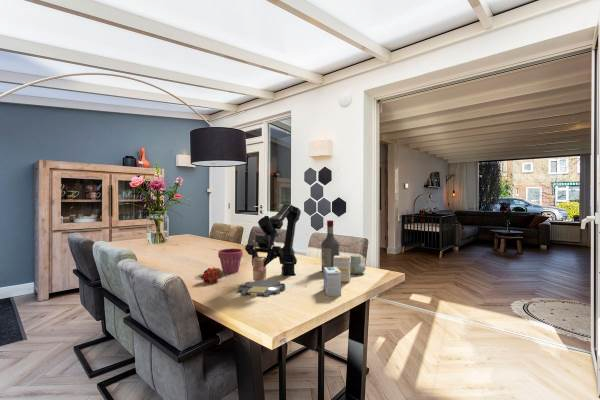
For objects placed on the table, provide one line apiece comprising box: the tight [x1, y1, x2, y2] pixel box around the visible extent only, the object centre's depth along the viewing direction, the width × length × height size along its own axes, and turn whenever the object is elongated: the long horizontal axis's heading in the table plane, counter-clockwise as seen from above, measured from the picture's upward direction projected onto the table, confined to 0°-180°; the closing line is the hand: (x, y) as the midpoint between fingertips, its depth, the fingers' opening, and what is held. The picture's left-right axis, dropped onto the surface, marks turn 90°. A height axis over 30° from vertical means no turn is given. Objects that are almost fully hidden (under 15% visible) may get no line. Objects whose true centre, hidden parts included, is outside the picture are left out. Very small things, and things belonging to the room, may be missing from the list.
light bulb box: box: [323, 267, 342, 297], centre depth 145 cm, size 11×7×11 cm, turn 5°
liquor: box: [321, 219, 340, 273], centre depth 183 cm, size 9×9×30 cm
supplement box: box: [333, 255, 351, 283], centre depth 163 cm, size 8×5×13 cm, turn 71°
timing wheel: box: [237, 279, 286, 298], centre depth 151 cm, size 23×23×1 cm
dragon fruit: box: [199, 266, 223, 284], centre depth 164 cm, size 8×8×12 cm
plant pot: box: [217, 248, 244, 275], centre depth 185 cm, size 14×14×13 cm
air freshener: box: [350, 254, 367, 275], centre depth 179 cm, size 11×8×10 cm
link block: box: [252, 256, 267, 281], centre depth 146 cm, size 5×5×10 cm
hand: (258, 265), depth 144 cm, fingers closed on link block, 6 cm apart
